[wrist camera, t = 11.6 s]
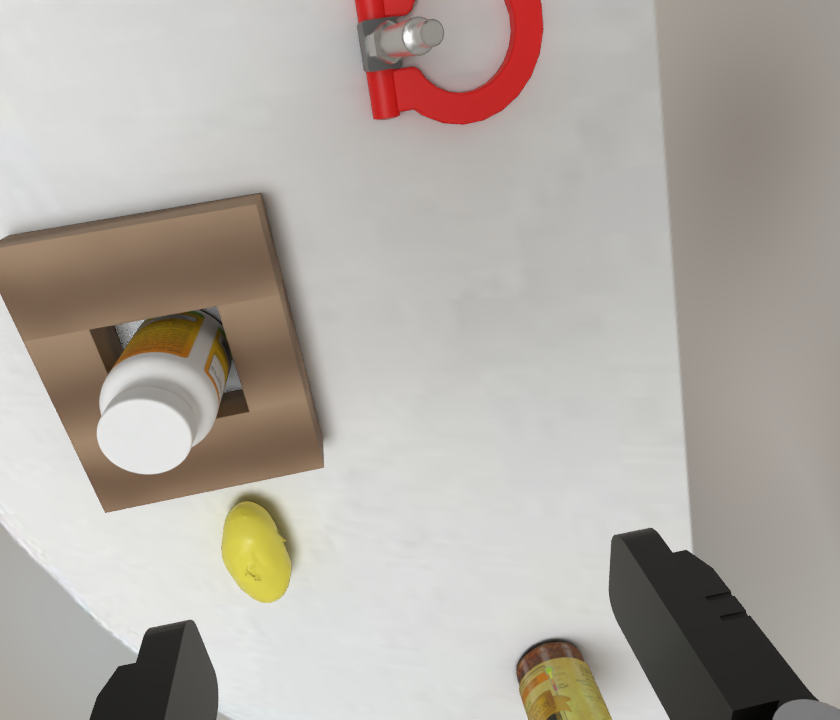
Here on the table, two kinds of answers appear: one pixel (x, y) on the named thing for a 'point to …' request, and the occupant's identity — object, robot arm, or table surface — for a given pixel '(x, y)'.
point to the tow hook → (416, 37)
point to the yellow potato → (255, 552)
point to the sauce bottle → (559, 685)
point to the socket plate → (159, 296)
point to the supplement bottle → (163, 392)
